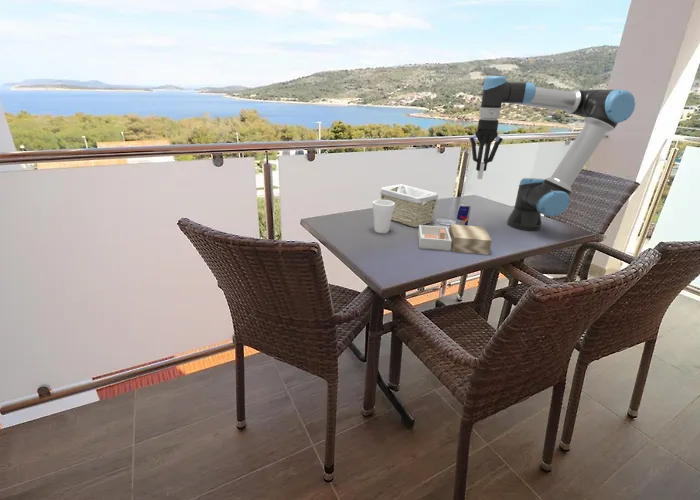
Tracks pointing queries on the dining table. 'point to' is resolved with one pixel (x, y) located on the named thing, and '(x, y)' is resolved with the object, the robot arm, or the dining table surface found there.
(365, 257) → the dining table surface
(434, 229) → the box
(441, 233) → the tile
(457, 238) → the tan wooden block
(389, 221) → the foam cup
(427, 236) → the tile
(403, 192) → the storage basket
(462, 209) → the energy drink
